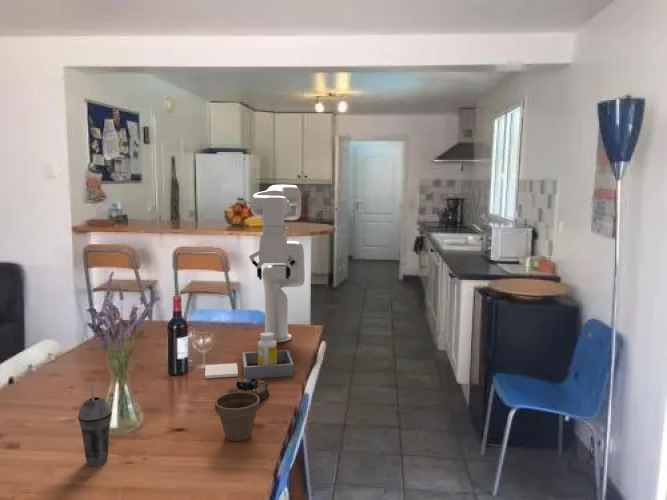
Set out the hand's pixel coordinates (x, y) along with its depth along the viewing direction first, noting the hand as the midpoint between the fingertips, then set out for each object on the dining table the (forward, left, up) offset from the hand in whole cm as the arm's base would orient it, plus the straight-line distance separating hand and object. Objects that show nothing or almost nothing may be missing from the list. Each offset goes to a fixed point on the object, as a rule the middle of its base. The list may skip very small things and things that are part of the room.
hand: (273, 278), depth 198 cm
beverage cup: (+63, -48, -32) cm, 85 cm away
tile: (+5, -19, -32) cm, 37 cm away
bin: (+5, -3, -32) cm, 32 cm away
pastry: (+30, -11, -32) cm, 45 cm away
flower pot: (+56, -15, -32) cm, 66 cm away
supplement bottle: (+5, -3, -32) cm, 32 cm away
